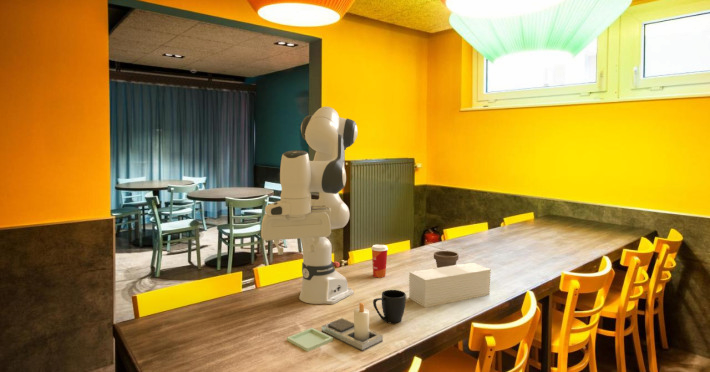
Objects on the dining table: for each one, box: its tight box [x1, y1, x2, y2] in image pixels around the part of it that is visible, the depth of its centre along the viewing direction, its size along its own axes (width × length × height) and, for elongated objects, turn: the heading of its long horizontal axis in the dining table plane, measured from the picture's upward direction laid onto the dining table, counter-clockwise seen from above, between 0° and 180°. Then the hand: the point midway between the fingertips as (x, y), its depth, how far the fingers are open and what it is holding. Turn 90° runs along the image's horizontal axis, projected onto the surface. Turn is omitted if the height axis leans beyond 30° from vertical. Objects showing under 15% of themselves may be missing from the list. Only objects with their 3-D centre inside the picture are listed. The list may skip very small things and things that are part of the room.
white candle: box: [353, 302, 370, 342], centre depth 129 cm, size 5×5×11 cm
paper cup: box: [370, 244, 389, 279], centre depth 194 cm, size 8×8×14 cm
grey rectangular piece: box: [321, 317, 384, 352], centre depth 133 cm, size 9×18×3 cm, turn 45°
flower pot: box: [433, 250, 459, 268], centre depth 197 cm, size 12×11×10 cm
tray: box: [286, 327, 334, 353], centre depth 130 cm, size 10×10×2 cm
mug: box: [372, 289, 407, 325], centre depth 145 cm, size 8×12×10 cm
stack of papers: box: [408, 262, 492, 308], centre depth 170 cm, size 32×11×11 cm, turn 116°
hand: (296, 253), depth 125 cm, fingers open, 8 cm apart
